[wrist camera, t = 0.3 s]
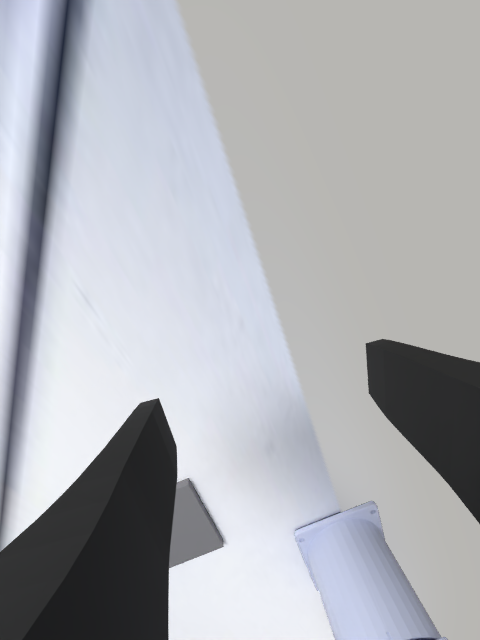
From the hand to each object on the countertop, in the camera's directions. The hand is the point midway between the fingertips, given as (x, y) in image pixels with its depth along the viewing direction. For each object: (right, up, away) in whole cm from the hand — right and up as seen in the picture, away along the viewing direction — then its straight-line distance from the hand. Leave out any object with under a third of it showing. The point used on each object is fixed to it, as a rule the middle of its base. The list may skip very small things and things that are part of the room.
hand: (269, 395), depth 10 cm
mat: (-8, -15, +15) cm, 22 cm away
